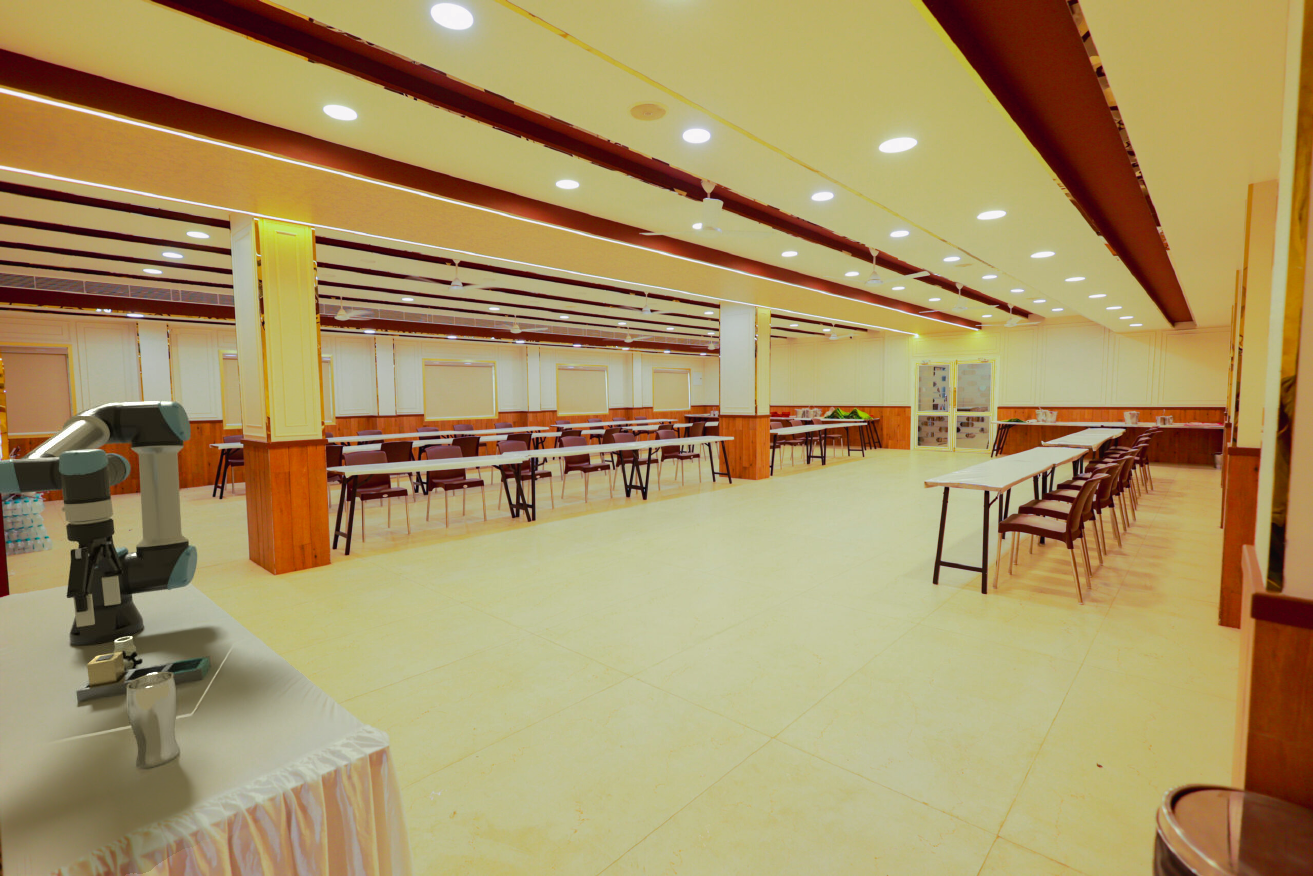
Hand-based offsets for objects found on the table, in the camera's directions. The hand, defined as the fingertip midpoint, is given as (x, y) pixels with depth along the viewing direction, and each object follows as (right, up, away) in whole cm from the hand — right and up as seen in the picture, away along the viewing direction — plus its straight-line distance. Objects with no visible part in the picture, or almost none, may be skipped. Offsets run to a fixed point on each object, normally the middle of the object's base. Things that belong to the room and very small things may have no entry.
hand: (100, 614), depth 132 cm
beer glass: (+32, -20, -23) cm, 44 cm away
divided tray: (+7, -18, +5) cm, 19 cm away
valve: (-5, -18, +13) cm, 22 cm away
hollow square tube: (0, -18, +2) cm, 18 cm away
